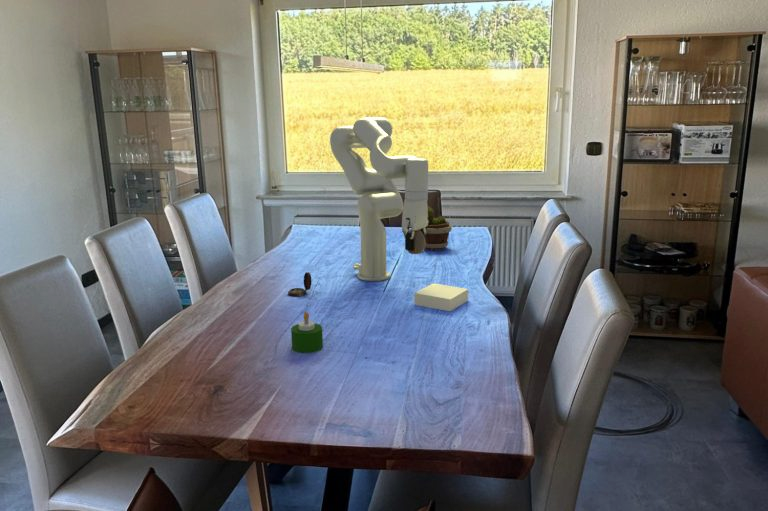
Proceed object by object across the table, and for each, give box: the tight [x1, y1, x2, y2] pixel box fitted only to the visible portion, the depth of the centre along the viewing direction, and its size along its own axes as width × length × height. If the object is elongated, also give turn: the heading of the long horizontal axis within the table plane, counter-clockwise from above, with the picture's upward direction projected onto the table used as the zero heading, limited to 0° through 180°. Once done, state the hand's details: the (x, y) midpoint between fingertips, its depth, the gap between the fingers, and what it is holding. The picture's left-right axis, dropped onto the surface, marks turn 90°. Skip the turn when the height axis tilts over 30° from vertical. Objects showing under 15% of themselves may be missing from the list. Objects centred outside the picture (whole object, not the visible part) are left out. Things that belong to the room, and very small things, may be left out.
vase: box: [406, 228, 426, 255], centre depth 210 cm, size 7×7×9 cm
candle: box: [290, 311, 324, 354], centre depth 167 cm, size 8×8×10 cm
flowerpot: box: [424, 205, 453, 251], centre depth 278 cm, size 14×15×20 cm
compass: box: [287, 271, 313, 297], centre depth 214 cm, size 8×8×7 cm
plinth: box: [413, 282, 469, 312], centre depth 204 cm, size 13×13×4 cm
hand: (415, 247), depth 211 cm, fingers closed on vase, 6 cm apart
